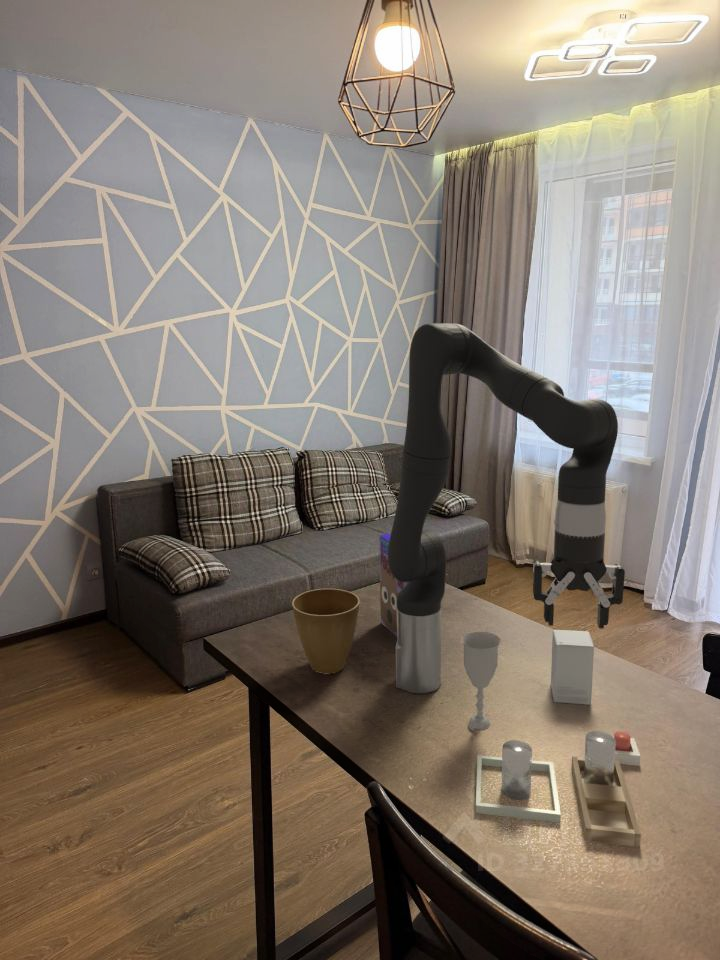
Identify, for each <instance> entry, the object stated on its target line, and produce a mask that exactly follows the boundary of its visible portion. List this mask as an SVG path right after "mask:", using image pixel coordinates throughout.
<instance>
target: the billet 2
mask: <svg viewBox="0 0 720 960" xmlns="http://www.w3.org/2000/svg"><path fill="white" fill-rule="evenodd" d="M613 736H614V735H611V734H609V732H608V733H607V732H605V731H599V730H592V731H588V732H587V733H586V735H585V743H584V758H585V760H584V780H583V782H584V783H589V784H599V785H609V786H613V781H614V764H615V747H616V740H615V739H614V737H613Z"/></svg>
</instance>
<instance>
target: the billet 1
mask: <svg viewBox="0 0 720 960" xmlns="http://www.w3.org/2000/svg"><path fill="white" fill-rule="evenodd" d="M501 752H502V754H501V755H502V756H501V757H502V767H501V791H502V794H503V795H504V796H505V797H507V798H509V799H512V800H515V801H523V800H526V799H528V798H529V797H530V796H531V793H532V792H531V790H532V770H531V765H532V760H533V758H532V757H533V749H532V747H531V746H530V744H528V743H526V742H525V741H523V740H517V739H515V740H513V739H512V740H508V741H505V742H504V743H503V744H502V751H501Z"/></svg>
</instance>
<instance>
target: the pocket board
mask: <svg viewBox="0 0 720 960" xmlns="http://www.w3.org/2000/svg"><path fill="white" fill-rule="evenodd" d="M584 760H585V756H573V755H572V756H571V771H572V777H573V782H574V787H575V788H574V789H575V793H576V798H577V804H578V809H579V813H580V814H579V815H580V820H581V825H582V830H583V831H582V832H583V837H584V841H587V842H596V843H603V844H610V845H611V844H612V845H622V846H629V847H637V848H640V847H641V840H642V839H641V838H642V833H641V829H640V827H639V824H638V819H637V816H636V814H635V810H634V806H633V803H632V800H631V797H630V794H629V790H628V786H627V782H626V780H625V776H624V773H623V770H622V769H623V768H622V766H621V764H620V763H619V761H616V760H615V764H614V781H613V786H609V785H599V784H589V783H584V782H583V780H584Z"/></svg>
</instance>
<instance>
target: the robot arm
mask: <svg viewBox="0 0 720 960" xmlns="http://www.w3.org/2000/svg"><path fill="white" fill-rule="evenodd" d="M408 361H409V363H408V364H409V365H408V367H409V368H408V403H407V404H408V405H407V413H406V427H405V428H406V429H405V437H404V443H403V451H402V458H401V469H400V470H401V471H400V481H399V488H398V494H397V495H398V497H397V503H396V509H395V513H394V514H395V515H394V520H393V523H392V528H391V532H390V533H391V536H390V540H389V546H388V565H389V569H390V571H391V573H392V575H393V576H394V577H395V578H396V579H397V580H398V581H401V582H408V584H407V585H406V586H405V587H404V588H403V589H402V590H401V591H400V592H399V593H398V595H397V636H396V644H395V688H396V689H402V690H404V691H406V692H408V693H412V694H413V693H414V694H428V693H432V692H435V691H437V690H438V689H439V688H440V687H441V684H442V600H443V599H444V596H445V591H446V590H445V589H446V573H447V571H446V570H447V554H446V549H445V545H444V543H443V540H442V539H441V537H440V536H439V535H438V534H437V532H435V531H433V530H429V529H428V530H425V529H423V528H424V524H425V521H426V519H427V517H428V515H429V513H430V511H431V509H432V508H433V506H434V504H435V502H436V501H437V500H438V498H439V496H440V494H441V493H442V491H443V489H444V487H445V485H446V483H447V481H448V477H449V473H450V466H451V459H452V451H453V450H452V449H453V443H452V438H451V434H450V431H449V429H448V426H447V423H446V421H445V419H444V417H443V414H442V409H441V401H440V400H441V399H440V397H441V386H442V380H443V376H444V375H455V374H462V375H465V376H469V377H472V378H475V379H477V380H478V381H480V382H482V383H484V385H486V386H487V388H489V390H490V391H491V392H492V394H493V396H494V397H495V398H496V399H497V400H498V401H500V403H502V404H503V405H504V406H506V407H507V408H509V409H510V410H512V411H514V412H515V413H517V414H519V415H521V416H523V417H524V418H526V419H528V420H530V421H532V422H533V423H534V424H535V426H537V428H539V430H541V431H542V432H543V433H544V434H545V435H546V436H547V437H548V438H549V439H550V440H552V441H553V442H554V443H556V444H557V445H560V446H562V447H564V448H568V449H573V450H572V454H571V456H570V458H569V459H568V460H567V461H565V463H563V464H562V465H561V466H560V468H559V471H558V478H557V482H558V483H557V502H556V507H555V515H554V522H553V523H554V540H553V541H554V542H553V545H554V546H553V558H552V560H551V562H541V561H540V560H534V561H533V563H532V594H533V598H534V600H535V601H540V602H543V619H544V621H545V623H547V624H548V626H551V627H553V626H554V614H555V613H554V612H555V609H554V608H555V604H554V602H555V601H556V599H557V598H558V596H560V595H562V593H563V592H564V590H565V589H566V590H567V591H576V590H579V591H582V592H588V591H589V590H592V592H593V593H594V595H595V597H597V599H598V603H597V617H596V618H597V619H596V625H597V628H598V629H601V630H604V629H605V626H608V624H609V616H610V608H611V606H613V605H621V604H622V603H623V600H624V587H625V586H624V585H625V575H626V571H625V569H624V568H623V566H622V564H621V563H615V564H614V565H609V564H605V561H604V557H605V538H606V520H607V519H606V517H607V516H606V515H607V514H606V512H607V511H606V485H607V471H608V469H609V467H610V465H611V460H612V457H613V453H614V451H615V450H614V449H615V446H616V442H617V438H618V431H619V422H618V416H617V413H616V410H615V409H614V407H613V406H612V405H611V404H610V403H609V402H607V401H606V400H603V399H599V398H594V399H593V398H592V399H586V400H577V401H575V400H573V399H569V398H568V397H566V396H565V393H564V390H563V388H562V387H561V386H560V385H559V384H558V383H556V382H554V380H551V379H549V378H547V377H545V376H544V375H542V374H540V373H538V372H535V371H533V370H531V369H529V368H528V367H525V366H523V365H521V364H519V363H517V362H516V361H514V360H512V359H511V358H509V357H507V356H506V355H504V354H502V353H501V352H499V350H497V349H496V348H495V347H492V346H491V345H490V344H488V343H487V342H486V341H484V340H483V339H482V337H479V336H478V335H477V334H476V333H474V332H473V331H472V330H471V329H469V328H468V327H466V326H465V325H462V324H459V323H455V322H454V323H451V322H450V323H449V322H448V323H443V322H442V323H441V322H439V323H438V322H437V323H434V322H433V323H426V324H422V325H420V326H419V327H418V328H416V331H415V332H414V333H413V336H412V339H411V342H410V347H409V358H408ZM550 571H551V573H552V574H553V575H554V579H553V581H551V584H550V586H549V587H548V588H547V590H546V591H543V587H542V586H543V580H542V579H543V578H544V577H546V576H547V574H548V572H550ZM606 573H608V575H609V577H610V578H609V579H610V580H612V585H611V588H612V589H611V593H609V594H606V592H605V591H604V589H603V587H602V586H601V585H600V582H599V581H600V580H601V579H602V578H603V577H604V576H605V575H606Z"/></svg>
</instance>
